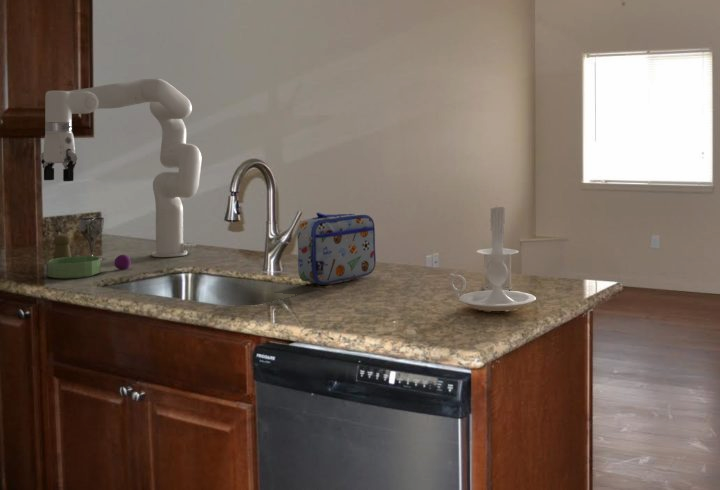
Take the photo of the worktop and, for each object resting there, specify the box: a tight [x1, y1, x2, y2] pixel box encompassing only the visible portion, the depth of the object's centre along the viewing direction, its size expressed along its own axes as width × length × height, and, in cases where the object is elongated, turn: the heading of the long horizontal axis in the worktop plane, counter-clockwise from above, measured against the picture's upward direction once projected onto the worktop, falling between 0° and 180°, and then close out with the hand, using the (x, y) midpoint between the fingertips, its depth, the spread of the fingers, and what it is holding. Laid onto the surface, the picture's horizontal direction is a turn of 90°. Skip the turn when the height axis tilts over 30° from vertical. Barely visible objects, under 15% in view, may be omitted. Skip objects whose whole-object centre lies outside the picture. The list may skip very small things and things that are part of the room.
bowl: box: [46, 255, 102, 280], centre depth 257 cm, size 15×15×5 cm
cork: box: [53, 234, 72, 259], centre depth 272 cm, size 6×6×11 cm
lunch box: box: [296, 212, 377, 286], centre depth 250 cm, size 28×10×22 cm, turn 144°
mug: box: [482, 247, 513, 291], centre depth 237 cm, size 12×8×12 cm
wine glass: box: [78, 216, 105, 261], centre depth 288 cm, size 8×8×15 cm
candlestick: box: [448, 205, 537, 313], centre depth 212 cm, size 21×25×28 cm
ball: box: [113, 254, 132, 271], centre depth 268 cm, size 5×5×5 cm
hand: (58, 180), depth 259 cm, fingers open, 9 cm apart
